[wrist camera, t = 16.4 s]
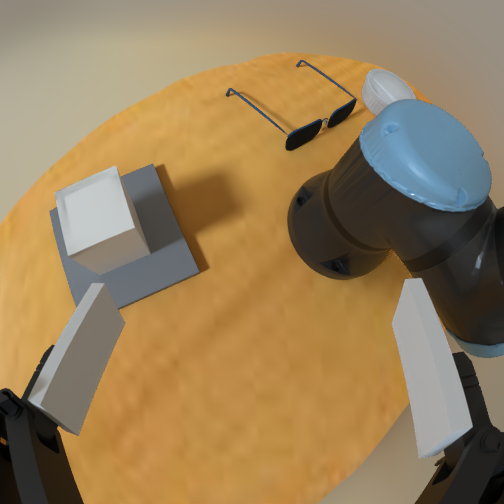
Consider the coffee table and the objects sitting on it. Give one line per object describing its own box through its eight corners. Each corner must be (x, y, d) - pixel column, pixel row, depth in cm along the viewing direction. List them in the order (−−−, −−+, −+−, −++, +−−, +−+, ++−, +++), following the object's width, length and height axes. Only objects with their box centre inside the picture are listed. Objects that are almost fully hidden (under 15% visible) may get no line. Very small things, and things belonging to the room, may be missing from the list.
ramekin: (353, 110, 49) (366, 92, 44) (357, 76, 52) (368, 60, 47) (404, 136, 50) (419, 121, 45) (403, 100, 53) (415, 85, 48)
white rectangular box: (133, 204, 36) (115, 165, 27) (150, 254, 35) (134, 227, 26) (85, 225, 35) (54, 192, 25) (99, 275, 34) (68, 256, 24)
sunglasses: (284, 158, 44) (290, 136, 39) (223, 104, 47) (224, 82, 42) (351, 117, 49) (360, 98, 44) (294, 73, 52) (299, 54, 47)
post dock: (153, 167, 39) (146, 133, 32) (199, 273, 37) (199, 258, 29) (52, 214, 35) (26, 189, 27) (86, 324, 33) (58, 322, 25)
